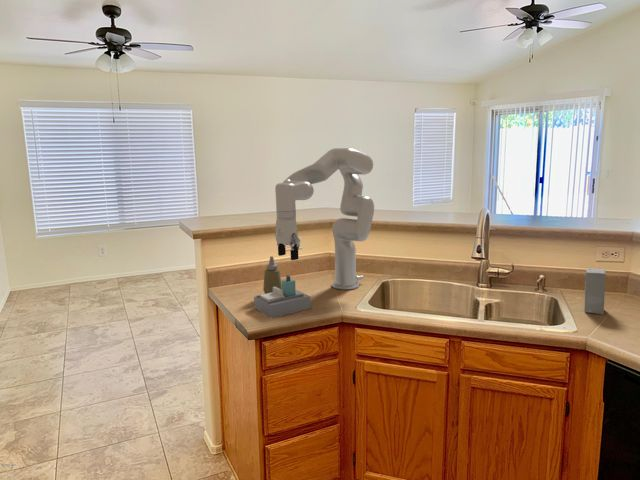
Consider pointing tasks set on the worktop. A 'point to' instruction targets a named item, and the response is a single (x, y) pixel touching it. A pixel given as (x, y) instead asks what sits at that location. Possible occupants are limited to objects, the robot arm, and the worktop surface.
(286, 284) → the teal rectangular bottle
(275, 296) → the shutter
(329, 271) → the worktop surface
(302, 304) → the grey flat box
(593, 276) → the skincare box
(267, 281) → the squeeze bottle
